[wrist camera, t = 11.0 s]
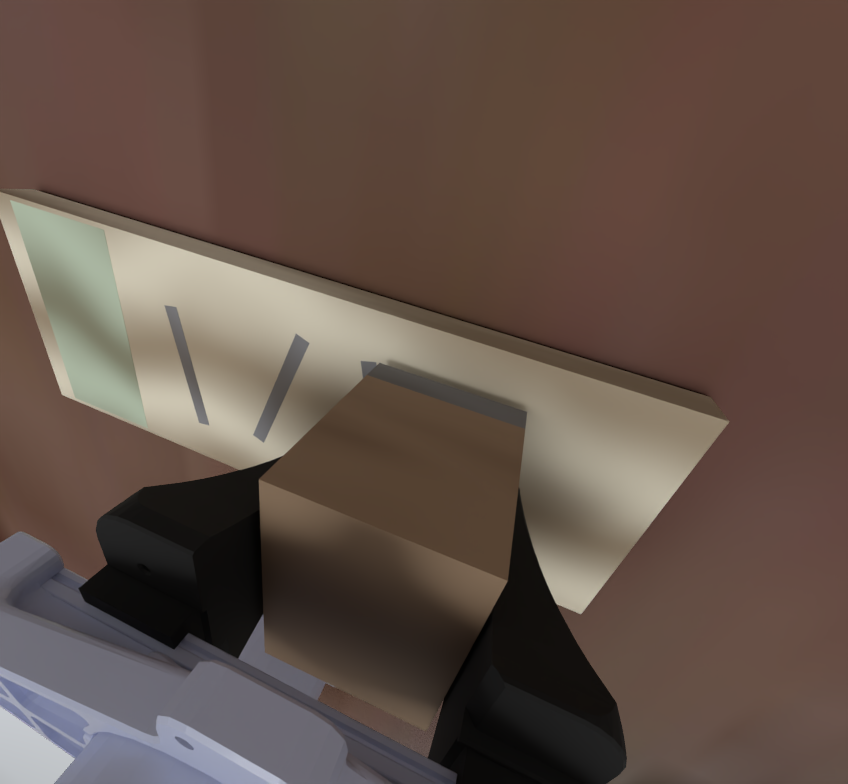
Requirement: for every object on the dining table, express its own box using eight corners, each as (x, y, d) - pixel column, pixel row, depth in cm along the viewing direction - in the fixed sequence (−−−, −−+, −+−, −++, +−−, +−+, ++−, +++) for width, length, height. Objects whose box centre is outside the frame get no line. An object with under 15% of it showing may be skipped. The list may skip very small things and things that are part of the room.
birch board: (579, 582, 17) (580, 614, 15) (91, 383, 21) (61, 394, 20) (710, 397, 12) (729, 421, 10) (34, 189, 16) (-11, 188, 15)
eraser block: (468, 551, 15) (425, 731, 10) (356, 506, 16) (264, 652, 11) (527, 411, 12) (507, 581, 6) (379, 362, 12) (258, 479, 7)
